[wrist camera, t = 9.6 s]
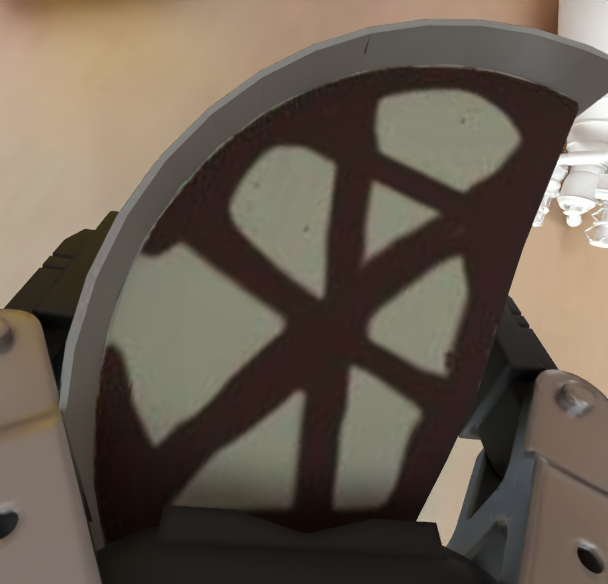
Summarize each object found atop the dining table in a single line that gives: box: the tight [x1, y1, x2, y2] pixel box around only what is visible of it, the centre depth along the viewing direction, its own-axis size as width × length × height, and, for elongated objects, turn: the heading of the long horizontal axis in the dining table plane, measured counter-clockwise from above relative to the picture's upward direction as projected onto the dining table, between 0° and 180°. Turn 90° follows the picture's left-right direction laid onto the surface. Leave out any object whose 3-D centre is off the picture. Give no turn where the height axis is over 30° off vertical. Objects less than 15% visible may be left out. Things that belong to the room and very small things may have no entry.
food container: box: [58, 19, 608, 552], centre depth 10 cm, size 12×6×10 cm, turn 154°
